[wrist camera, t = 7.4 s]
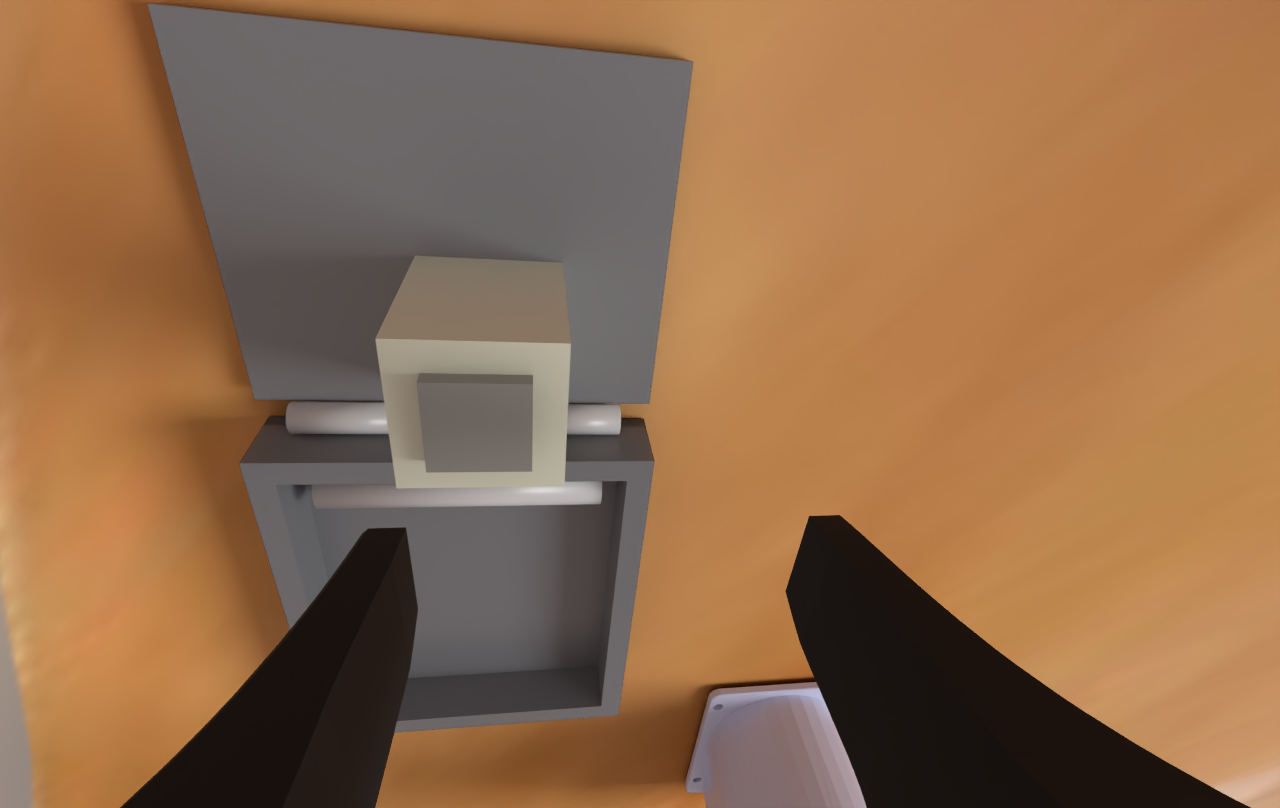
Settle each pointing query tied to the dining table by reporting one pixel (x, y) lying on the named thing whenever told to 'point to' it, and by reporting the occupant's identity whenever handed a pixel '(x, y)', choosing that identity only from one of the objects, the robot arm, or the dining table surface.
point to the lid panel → (422, 191)
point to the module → (477, 373)
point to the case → (474, 568)
